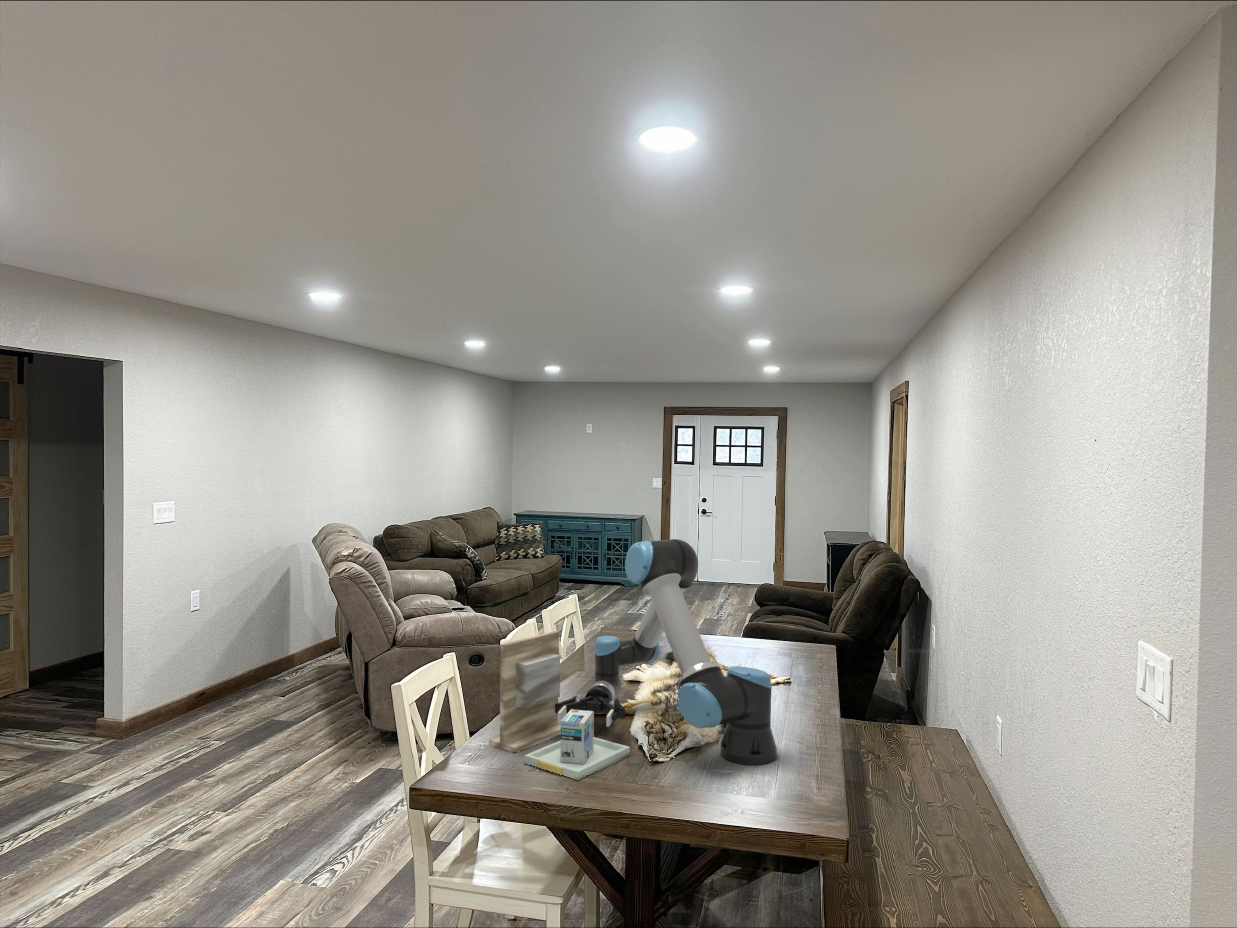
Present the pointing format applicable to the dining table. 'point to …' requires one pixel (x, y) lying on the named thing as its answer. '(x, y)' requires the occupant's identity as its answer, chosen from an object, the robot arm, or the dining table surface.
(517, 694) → the wall unit
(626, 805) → the dining table surface
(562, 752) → the light bulb box
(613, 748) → the tray
